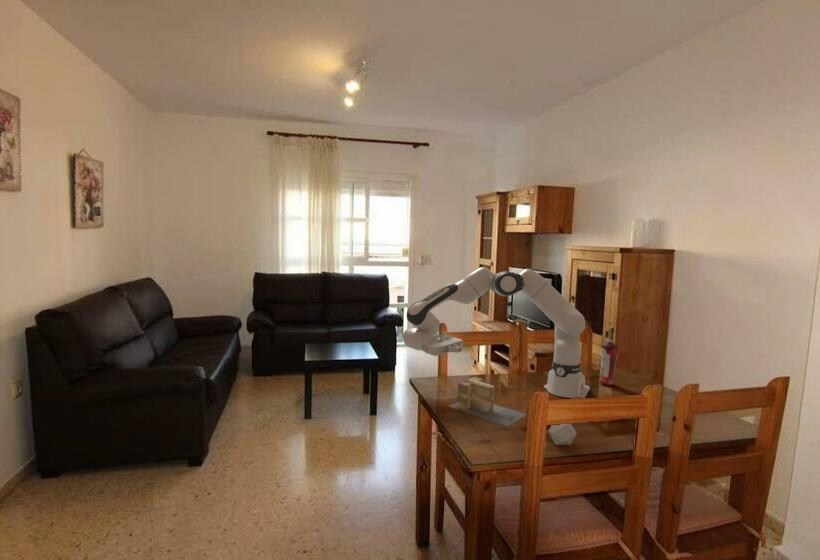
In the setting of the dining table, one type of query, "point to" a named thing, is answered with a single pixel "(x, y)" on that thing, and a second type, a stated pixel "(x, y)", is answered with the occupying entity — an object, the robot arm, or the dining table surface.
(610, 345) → the liquor
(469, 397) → the t block
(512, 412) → the t mat
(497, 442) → the dining table surface
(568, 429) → the die
